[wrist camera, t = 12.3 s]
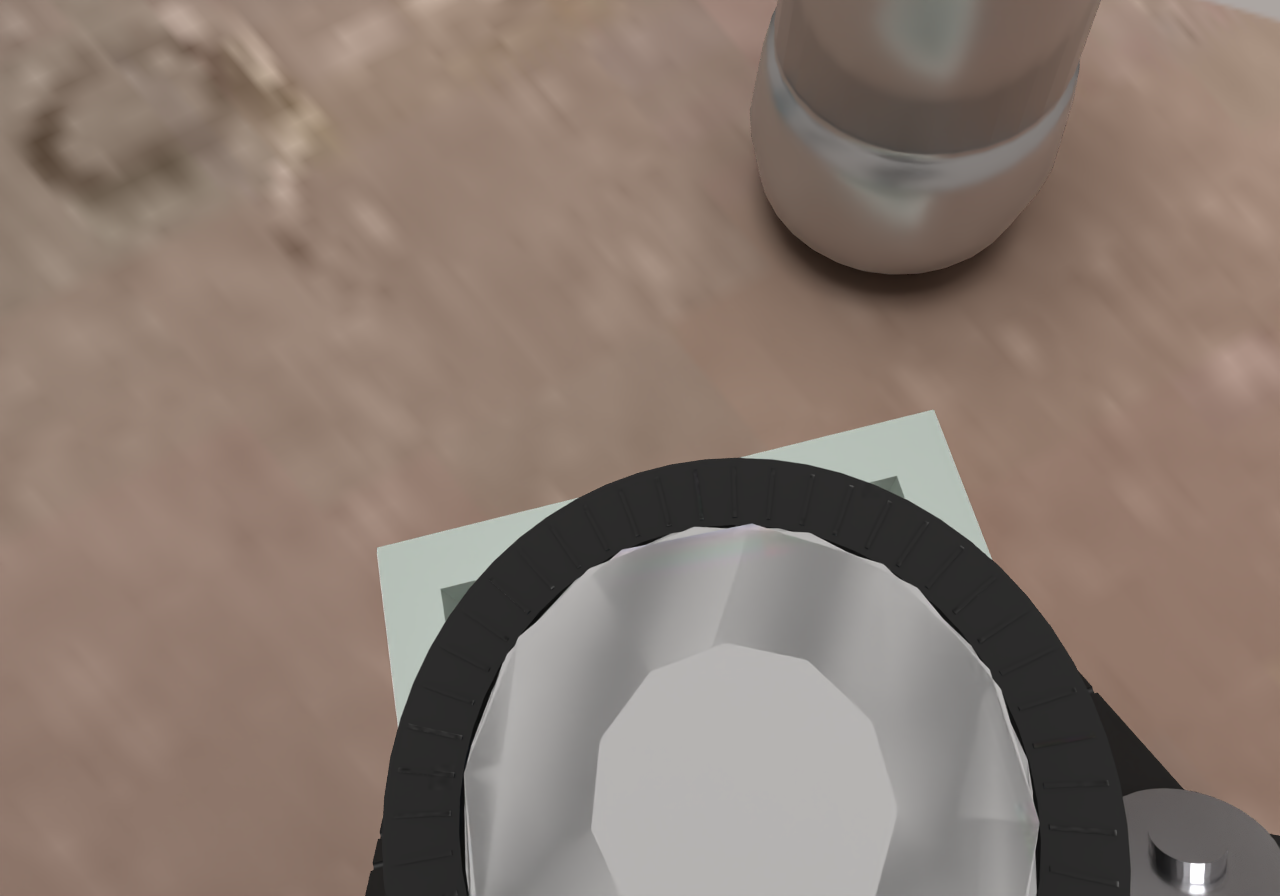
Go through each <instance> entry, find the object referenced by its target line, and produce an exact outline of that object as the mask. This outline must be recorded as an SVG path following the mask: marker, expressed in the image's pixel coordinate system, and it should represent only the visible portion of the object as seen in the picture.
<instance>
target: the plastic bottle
mask: <svg viewBox="0 0 1280 896" xmlns="http://www.w3.org/2000/svg"><path fill="white" fill-rule="evenodd" d="M1100 1H1101V0H778V1H777V6H776V9H775V11H774V13H773V15H772V18H771V21H770V24H769V28H768V31H767V34H766V37H765V40H764V43H763V48H762V53H761V58H760V63H759V67H758V72H757V77H756V82H755V87H754V92H753V97H752V102H751V108H750V122H751V137H752V142H753V146H754V151H755V156H756V161H757V166H758V170H759V174H760V178H761V181H762V185H763V188H764V192H765V195H766V197H767V199H768V200H769V202H770V204H771V206H772V208H773V210H774V211H775V213H776V215H777V216H778V217H779V219H780V220H781V221H782V222H783V223H784V224H785V226H786V227H787V228H788V229H789V230H790V231H791V232H792V234H793V235H795V236H796V237H797V238H799V239H800V240H801V241H802V242H804V243H805V244H806V245H807V246H809V247H810V248H811V249H813V250H814V251H816V252H818V253H820V254H822V255H824V256H826V257H828V258H830V259H831V260H833V261H835V262H837V263H840V264H843V265H846V266H849V267H852V268H855V269H858V270H862V271H867V272H874V273H882V274H891V275H893V274H920V273H924V272H929V271H934V270H938V269H943V268H947V267H950V266H952V265H954V264H957V263H959V262H962V261H964V260H966V259H969V258H971V257H973V256H974V255H976V254H977V253H979V252H980V251H982V250H983V249H985V248H986V247H988V246H989V245H991V244H992V243H993V242H994V241H995V240H996V239H997V238H998V237H999V236H1000V235H1001V234H1002V233H1003V232H1004V231H1005V230H1006V229H1007V228H1008V227H1009V226H1010V225H1011V224H1012V222H1013V221H1014V220H1015V219H1016V218H1017V217H1018V215H1019V214H1020V213H1021V212H1022V211H1023V210H1024V208H1025V207H1026V206H1027V205H1028V204H1029V203H1030V202H1031V200H1032V199H1033V198H1034V197H1035V196H1036V195H1037V193H1038V192H1039V191H1040V189H1041V187H1042V185H1043V184H1044V182H1045V180H1046V179H1047V177H1048V175H1049V174H1050V172H1051V170H1052V168H1053V165H1054V162H1055V158H1056V155H1057V152H1058V149H1059V145H1060V142H1061V139H1062V136H1063V132H1064V129H1065V126H1066V123H1067V119H1068V116H1069V113H1070V109H1071V106H1072V103H1073V99H1074V95H1075V89H1076V84H1077V78H1078V73H1079V62H1080V57H1081V54H1082V51H1083V49H1084V46H1085V43H1086V40H1087V37H1088V35H1089V32H1090V29H1091V26H1092V24H1093V21H1094V18H1095V15H1096V12H1097V10H1098V7H1099V4H1100Z"/></svg>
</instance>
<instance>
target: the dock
mask: <svg viewBox="0 0 1280 896" xmlns="http://www.w3.org/2000/svg"><path fill="white" fill-rule="evenodd" d="M741 458H754V459H774V460H781V461H787V462H794V463H801V464H808V465H812V466H816V467H820V468H824V469H828V470H832V471H836V472H840V473H843V474H846V475H849V476H852V477H855V478H857V479H860V480H863V481H866V482H869V483H872V484H874V485H877V486H879V487H881V488H883V489H885V490H887V491H890V492H892V493H894V494H896V495H898V496H900V497H902V498H905V499H907V500H909V501H910V502H912V503H914V504H915V505H917V506H919V507H921V508H922V509H924V510H926V511H927V512H929V513H931V514H933V515H934V516H936V517H938V518H939V519H941V520H942V521H944V522H945V523H946V524H948V525H949V526H950V527H952V528H953V529H955V530H956V531H957V532H959V533H960V534H962V535H963V536H964V537H966V538H967V539H968V540H970V541H971V542H972V543H973V544H974V545H976V546H977V547H978V548H979V549H980V550H981V551H982V552H984V553H985V554H986V555H987V556H988V557H989V558H990V559H992V558H991V556H990V553H989V550H988V548H987V545H986V543H985V540H984V538H983V535H982V532H981V530H980V527H979V525H978V522H977V520H976V517H975V514H974V512H973V509H972V507H971V504H970V501H969V499H968V496H967V494H966V491H965V489H964V486H963V483H962V481H961V478H960V476H959V473H958V471H957V468H956V465H955V463H954V460H953V458H952V455H951V453H950V450H949V447H948V445H947V442H946V440H945V437H944V435H943V432H942V429H941V427H940V424H939V422H938V419H937V417H936V414H935V411H934V410H930V411H926V412H922V413H918V414H914V415H910V416H906V417H902V418H898V419H894V420H890V421H886V422H882V423H878V424H874V425H870V426H865V427H861V428H857V429H853V430H849V431H845V432H841V433H837V434H833V435H829V436H825V437H821V438H817V439H813V440H809V441H805V442H801V443H797V444H793V445H789V446H785V447H781V448H777V449H773V450H769V451H765V452H761V453H757V454H753V455H749V456H745V457H741ZM575 499H577V498H575ZM575 499H571V500H567V501H563V502H559V503H555V504H551V505H547V506H543V507H539V508H535V509H531V510H527V511H523V512H519V513H515V514H511V515H507V516H503V517H499V518H495V519H491V520H487V521H483V522H479V523H475V524H471V525H467V526H463V527H459V528H455V529H451V530H447V531H443V532H438V533H434V534H430V535H426V536H422V537H418V538H414V539H410V540H406V541H402V542H398V543H394V544H390V545H386V546H382V547H378V548H377V558H378V566H379V575H380V583H381V591H382V599H383V608H384V616H385V624H386V632H387V641H388V649H389V657H390V666H391V674H392V682H393V690H394V699H395V707H396V715H397V723H398V726H399V722H400V718H401V716H402V713H403V710H404V707H405V704H406V702H407V699H408V696H409V693H410V691H411V688H412V685H413V682H414V680H415V678H416V676H417V674H418V672H419V670H420V668H421V665H422V663H423V661H424V659H425V657H426V655H427V653H428V651H429V649H430V647H431V645H432V644H433V642H434V640H435V638H436V637H437V635H438V633H439V632H440V630H441V628H442V627H443V625H444V623H445V622H446V620H447V618H448V617H449V615H450V614H451V613H452V611H453V610H454V609H455V607H456V606H457V604H458V603H459V602H460V600H461V599H462V598H463V596H464V595H465V594H466V592H467V591H468V589H469V588H470V587H471V586H472V585H473V584H474V582H475V581H476V580H477V579H478V578H479V577H480V576H481V575H482V574H483V572H484V571H485V570H486V569H487V568H488V567H489V566H490V565H491V563H492V562H493V561H494V560H495V559H497V558H498V557H499V556H500V555H501V554H502V553H503V552H504V551H505V550H506V549H507V548H508V547H510V546H511V545H512V544H513V543H514V542H515V541H516V540H517V539H518V538H519V537H521V536H522V535H523V534H525V533H526V532H527V531H529V530H530V529H531V528H533V527H534V526H535V525H537V524H538V523H539V522H541V521H542V520H543V519H545V518H546V517H548V516H549V515H551V514H552V513H554V512H556V511H557V510H559V509H561V508H562V507H564V506H566V505H567V504H569V503H570V502H572V501H574V500H575Z"/></svg>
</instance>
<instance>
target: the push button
mask: <svg viewBox="0 0 1280 896" xmlns="http://www.w3.org/2000/svg"><path fill="white" fill-rule="evenodd" d="M382 853H383V880H384V887H385V895H386V896H1130V883H1131V865H1130V851H1129V838H1128V825H1127V819H1126V813H1125V808H1124V802H1123V796H1122V791H1121V785H1120V780H1119V777H1118V773H1117V770H1116V766H1115V762H1114V759H1113V755H1112V752H1111V748H1110V745H1109V741H1108V738H1107V736H1106V733H1105V730H1104V728H1103V725H1102V723H1101V720H1100V718H1099V715H1098V713H1097V710H1096V707H1095V705H1094V702H1093V700H1092V698H1091V696H1090V694H1089V692H1088V690H1087V688H1086V686H1085V684H1084V682H1083V680H1082V678H1081V676H1080V674H1079V672H1078V670H1077V668H1076V666H1075V664H1074V662H1073V661H1072V659H1071V657H1070V656H1069V654H1068V653H1067V651H1066V650H1065V648H1064V646H1063V645H1062V643H1061V642H1060V640H1059V639H1058V637H1057V635H1056V634H1055V632H1054V631H1053V629H1052V627H1051V626H1050V625H1049V624H1048V622H1047V621H1046V620H1045V618H1044V617H1043V616H1042V615H1041V613H1040V612H1039V611H1038V609H1037V608H1036V607H1035V605H1034V604H1033V603H1032V602H1031V600H1030V599H1029V598H1028V596H1027V595H1026V594H1025V593H1024V592H1023V591H1022V590H1021V589H1020V588H1019V587H1018V586H1017V585H1016V584H1015V582H1014V581H1013V580H1012V579H1011V578H1010V577H1009V576H1008V575H1007V574H1006V573H1005V572H1004V571H1003V570H1002V569H1001V568H1000V567H999V566H998V565H997V564H996V563H995V562H994V561H993V560H992V559H990V558H989V557H988V556H987V555H986V554H985V553H984V552H982V551H981V550H980V549H979V548H978V547H977V546H976V545H974V544H973V543H972V542H971V541H970V540H968V539H967V538H966V537H964V536H963V535H962V534H960V533H959V532H957V531H956V530H955V529H953V528H952V527H950V526H949V525H948V524H946V523H945V522H944V521H942V520H941V519H939V518H938V517H936V516H934V515H933V514H931V513H929V512H927V511H926V510H924V509H922V508H921V507H919V506H917V505H915V504H914V503H912V502H910V501H909V500H907V499H905V498H902V497H900V496H898V495H896V494H894V493H892V492H890V491H887V490H885V489H883V488H881V487H879V486H877V485H874V484H872V483H869V482H866V481H863V480H860V479H857V478H855V477H852V476H849V475H846V474H843V473H840V472H836V471H832V470H828V469H824V468H820V467H816V466H812V465H808V464H801V463H794V462H787V461H781V460H774V459H754V458H724V459H705V460H698V461H691V462H685V463H678V464H672V465H667V466H664V467H660V468H656V469H652V470H648V471H644V472H640V473H637V474H634V475H631V476H629V477H626V478H623V479H620V480H618V481H615V482H612V483H609V484H607V485H604V486H602V487H600V488H598V489H596V490H594V491H592V492H590V493H588V494H586V495H584V496H582V497H579V498H577V499H575V500H574V501H572V502H570V503H569V504H567V505H566V506H564V507H562V508H561V509H559V510H557V511H556V512H554V513H552V514H551V515H549V516H548V517H546V518H545V519H543V520H542V521H541V522H539V523H538V524H537V525H535V526H534V527H533V528H531V529H530V530H529V531H527V532H526V533H525V534H523V535H522V536H521V537H519V538H518V539H517V540H516V541H515V542H514V543H513V544H512V545H511V546H510V547H508V548H507V549H506V550H505V551H504V552H503V553H502V554H501V555H500V556H499V557H498V558H497V559H495V560H494V561H493V562H492V563H491V565H490V566H489V567H488V568H487V569H486V570H485V571H484V572H483V574H482V575H481V576H480V577H479V578H478V579H477V580H476V581H475V582H474V584H473V585H472V586H471V587H470V588H469V589H468V591H467V592H466V594H465V595H464V596H463V598H462V599H461V600H460V602H459V603H458V604H457V606H456V607H455V609H454V610H453V611H452V613H451V614H450V615H449V617H448V618H447V620H446V622H445V623H444V625H443V627H442V628H441V630H440V632H439V633H438V635H437V637H436V638H435V640H434V642H433V644H432V645H431V647H430V649H429V651H428V653H427V655H426V657H425V659H424V661H423V663H422V665H421V668H420V670H419V672H418V674H417V676H416V678H415V680H414V682H413V685H412V688H411V691H410V693H409V696H408V699H407V702H406V704H405V707H404V710H403V713H402V716H401V718H400V722H399V726H398V730H397V734H396V738H395V742H394V746H393V749H392V753H391V757H390V764H389V770H388V777H387V783H386V790H385V796H384V811H383V828H382Z"/></svg>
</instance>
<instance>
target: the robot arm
mask: <svg viewBox="0 0 1280 896" xmlns="http://www.w3.org/2000/svg"><path fill="white" fill-rule="evenodd" d="M1078 672H1079V671H1078ZM1079 674H1080V672H1079ZM1080 676H1081V678H1082V680H1083V682H1084V684H1085V686H1086V688H1087V690H1088V692H1089V694H1090V696H1091V698H1092V700H1093V702H1094V705H1095V707H1096V710H1097V713H1098V715H1099V718H1100V720H1101V723H1102V725H1103V728H1104V730H1105V733H1106V736H1107V738H1108V741H1109V745H1110V748H1111V752H1112V755H1113V759H1114V762H1115V766H1116V770H1117V773H1118V777H1119V780H1120V785H1121V791H1122V796H1123V802H1124V808H1125V813H1126V819H1127V825H1128V838H1129V851H1130V865H1131V883H1130V896H1280V836H1278V835H1272V834H1269V833H1268V832H1267V831H1266V830H1265V829H1264V828H1263V827H1262V826H1261V825H1260V824H1259V823H1258V822H1256V821H1255V820H1254V819H1253V818H1251V817H1250V816H1249V815H1247V814H1246V813H1244V812H1243V811H1241V810H1240V809H1238V808H1236V807H1234V806H1232V805H1230V804H1228V803H1226V802H1224V801H1221V800H1219V799H1216V798H1214V797H1211V796H1208V795H1204V794H1201V793H1197V792H1193V791H1187V790H1184V789H1183V788H1182V787H1181V786H1180V785H1179V784H1178V782H1177V781H1176V780H1175V779H1174V778H1173V777H1172V776H1171V775H1170V773H1169V772H1168V771H1167V770H1166V769H1165V768H1164V767H1163V766H1162V764H1161V763H1160V762H1159V761H1158V760H1157V759H1156V758H1155V757H1154V755H1153V754H1152V753H1151V752H1150V751H1149V750H1148V749H1147V748H1146V747H1145V745H1144V744H1143V743H1142V742H1141V741H1140V740H1139V739H1138V738H1137V736H1136V735H1135V734H1134V733H1133V732H1132V731H1131V730H1130V729H1129V727H1128V726H1127V725H1126V724H1125V723H1124V722H1123V721H1122V720H1121V718H1120V717H1119V716H1118V715H1117V714H1116V713H1115V712H1114V711H1113V710H1112V708H1111V707H1110V706H1109V705H1108V704H1107V703H1106V702H1105V701H1104V699H1103V698H1102V697H1101V696H1100V695H1099V694H1098V693H1094V692H1093V689H1092V686H1091V685H1090V684H1089V683H1088V681H1087V680H1086V679H1085V678H1084V677H1083V676H1082V675H1081V674H1080ZM382 828H383V819H382V824H381V828H380V835H381V839H378V842H377V846H376V850H375V855H374V859H373V866H374V870H373V871H371V873H370V877H369V881H368V886H367V890H366V895H365V896H386V895H385V887H384V880H383V853H382Z"/></svg>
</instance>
